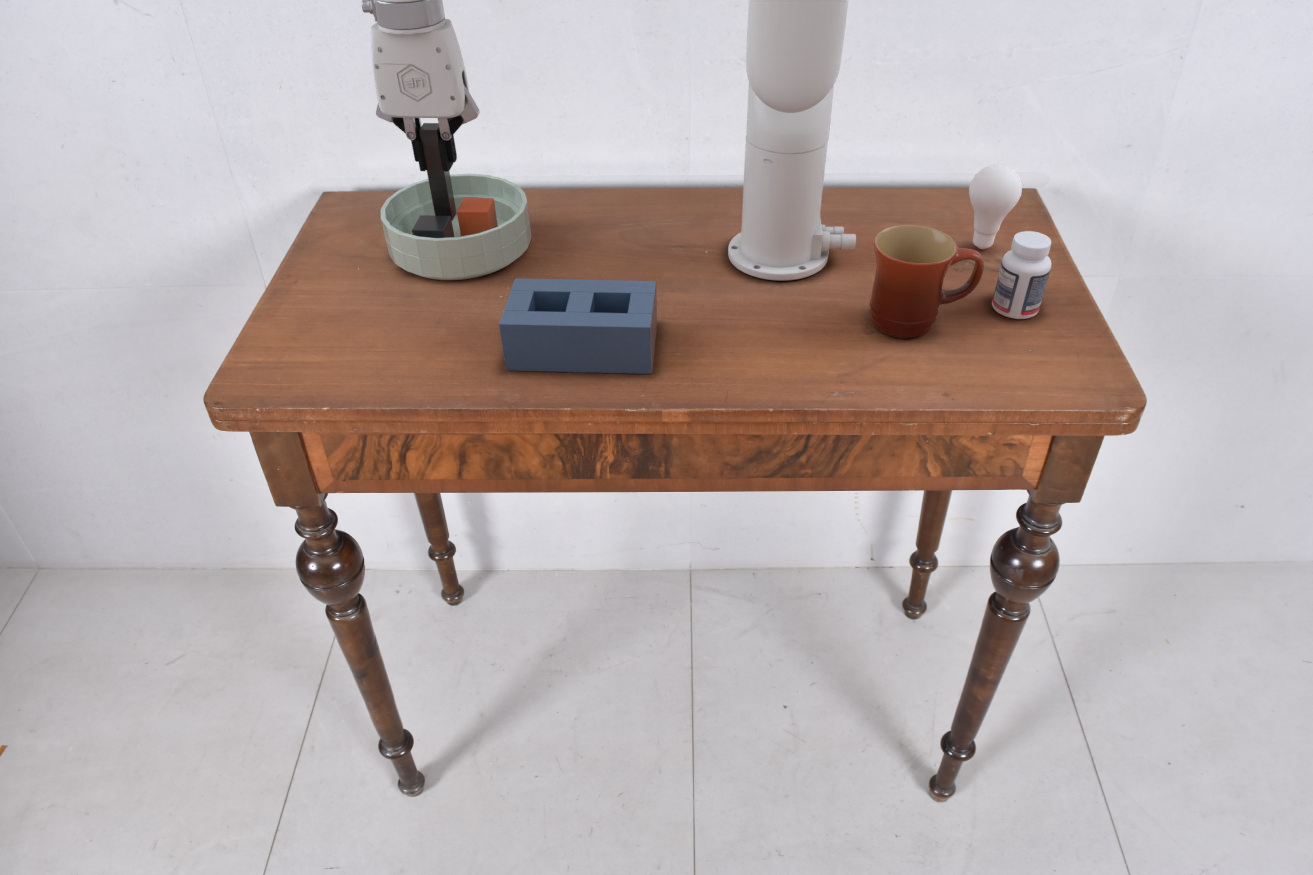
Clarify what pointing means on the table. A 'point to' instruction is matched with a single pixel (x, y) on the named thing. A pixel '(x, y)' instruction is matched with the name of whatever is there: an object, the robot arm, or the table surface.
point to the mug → (915, 278)
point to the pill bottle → (1023, 276)
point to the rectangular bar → (437, 172)
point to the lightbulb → (992, 201)
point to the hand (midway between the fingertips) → (437, 165)
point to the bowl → (457, 230)
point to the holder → (580, 326)
